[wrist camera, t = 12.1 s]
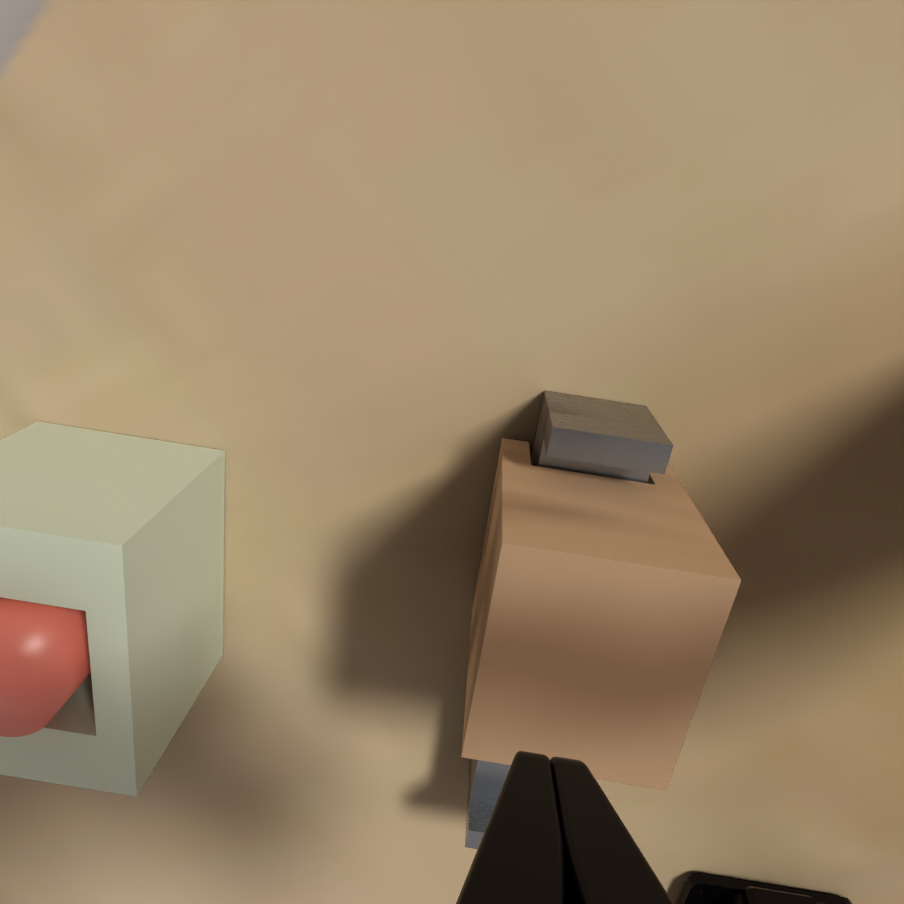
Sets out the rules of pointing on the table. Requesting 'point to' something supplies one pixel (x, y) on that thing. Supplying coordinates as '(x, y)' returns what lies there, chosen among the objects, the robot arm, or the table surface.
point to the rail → (589, 452)
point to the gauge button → (39, 663)
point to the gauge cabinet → (115, 590)
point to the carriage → (592, 620)
